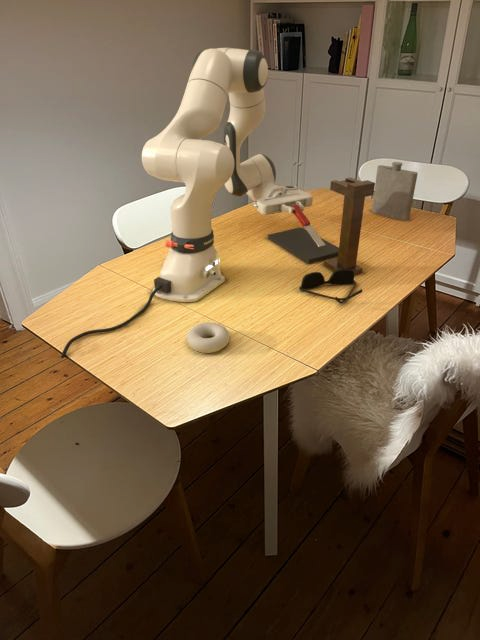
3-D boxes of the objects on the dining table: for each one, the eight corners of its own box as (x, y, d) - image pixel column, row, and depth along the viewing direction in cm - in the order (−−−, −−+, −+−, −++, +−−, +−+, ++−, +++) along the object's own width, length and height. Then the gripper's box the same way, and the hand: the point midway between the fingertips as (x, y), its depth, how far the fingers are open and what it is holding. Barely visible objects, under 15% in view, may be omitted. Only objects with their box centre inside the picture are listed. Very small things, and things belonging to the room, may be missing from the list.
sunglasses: (316, 314, 120) (317, 297, 118) (297, 288, 132) (298, 272, 130) (376, 305, 124) (378, 289, 121) (352, 281, 136) (354, 265, 133)
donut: (230, 355, 106) (229, 330, 114) (229, 343, 104) (229, 318, 112) (185, 356, 106) (188, 331, 114) (184, 344, 104) (187, 319, 112)
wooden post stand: (323, 265, 145) (331, 177, 130) (341, 260, 148) (350, 174, 133) (344, 278, 137) (354, 186, 123) (362, 272, 140) (375, 182, 126)
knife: (289, 209, 157) (291, 205, 155) (296, 207, 158) (297, 204, 157) (318, 248, 149) (319, 245, 147) (324, 246, 150) (326, 243, 149)
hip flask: (410, 219, 178) (420, 165, 167) (405, 221, 175) (414, 167, 165) (374, 209, 188) (381, 158, 177) (368, 211, 185) (375, 160, 175)
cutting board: (267, 238, 164) (267, 234, 163) (300, 231, 169) (301, 227, 168) (308, 264, 146) (308, 259, 145) (343, 254, 151) (344, 250, 150)
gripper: (249, 194, 160) (271, 205, 149) (299, 185, 168) (322, 195, 158) (249, 212, 163) (270, 224, 153) (298, 202, 171) (321, 213, 161)
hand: (297, 209), depth 155 cm, fingers closed on knife, 2 cm apart
